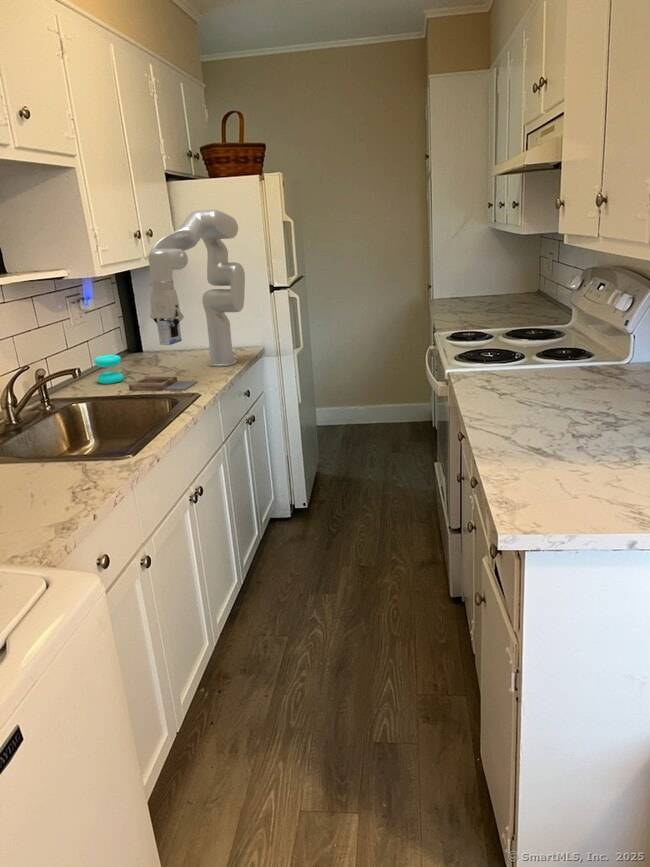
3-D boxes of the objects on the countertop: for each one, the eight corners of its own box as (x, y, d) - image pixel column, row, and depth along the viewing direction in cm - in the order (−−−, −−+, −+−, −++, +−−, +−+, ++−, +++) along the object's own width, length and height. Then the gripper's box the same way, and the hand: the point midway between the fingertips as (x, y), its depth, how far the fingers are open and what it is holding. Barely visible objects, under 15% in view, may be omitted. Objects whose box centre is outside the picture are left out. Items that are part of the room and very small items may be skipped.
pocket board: (146, 381, 255) (145, 376, 255) (177, 381, 253) (176, 376, 252) (129, 390, 242) (128, 385, 242) (161, 390, 240) (160, 385, 239)
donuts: (98, 360, 248) (90, 356, 256) (102, 386, 251) (94, 381, 259) (123, 356, 253) (115, 353, 261) (127, 381, 257) (119, 377, 264)
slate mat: (178, 382, 251) (178, 380, 251) (197, 382, 250) (197, 380, 250) (165, 390, 240) (165, 388, 240) (185, 390, 239) (185, 388, 238)
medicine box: (169, 345, 237) (166, 321, 234) (159, 344, 239) (156, 321, 236) (182, 341, 244) (179, 318, 241) (172, 340, 245) (169, 317, 243)
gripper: (137, 287, 234) (144, 337, 240) (175, 287, 227) (181, 339, 233) (151, 284, 241) (157, 333, 247) (188, 285, 234) (194, 335, 239)
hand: (169, 335), depth 240 cm, fingers closed on medicine box, 4 cm apart
